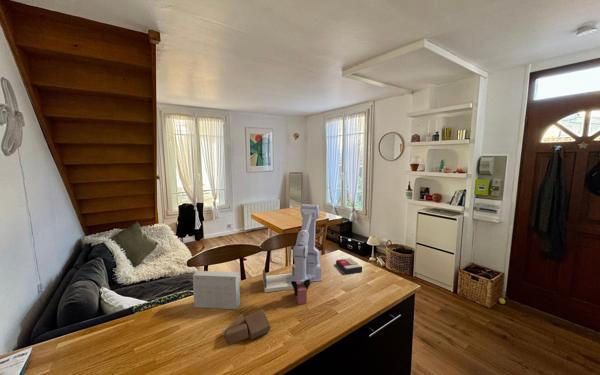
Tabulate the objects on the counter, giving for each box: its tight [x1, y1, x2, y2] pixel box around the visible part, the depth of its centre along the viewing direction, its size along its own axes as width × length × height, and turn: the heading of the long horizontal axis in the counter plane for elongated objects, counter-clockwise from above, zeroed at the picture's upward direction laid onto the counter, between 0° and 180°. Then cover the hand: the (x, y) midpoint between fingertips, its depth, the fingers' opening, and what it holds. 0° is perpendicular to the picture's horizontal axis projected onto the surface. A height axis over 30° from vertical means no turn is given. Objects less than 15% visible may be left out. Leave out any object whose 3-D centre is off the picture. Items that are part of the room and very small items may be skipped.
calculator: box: [335, 257, 363, 276], centre depth 157 cm, size 11×4×15 cm
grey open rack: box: [262, 266, 295, 293], centre depth 137 cm, size 18×14×6 cm
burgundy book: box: [295, 281, 308, 305], centre depth 124 cm, size 4×10×7 cm, turn 13°
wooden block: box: [222, 308, 271, 346], centre depth 100 cm, size 8×13×18 cm
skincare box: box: [192, 270, 241, 310], centre depth 117 cm, size 21×6×16 cm, turn 84°
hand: (300, 294), depth 124 cm, fingers closed on burgundy book, 4 cm apart
